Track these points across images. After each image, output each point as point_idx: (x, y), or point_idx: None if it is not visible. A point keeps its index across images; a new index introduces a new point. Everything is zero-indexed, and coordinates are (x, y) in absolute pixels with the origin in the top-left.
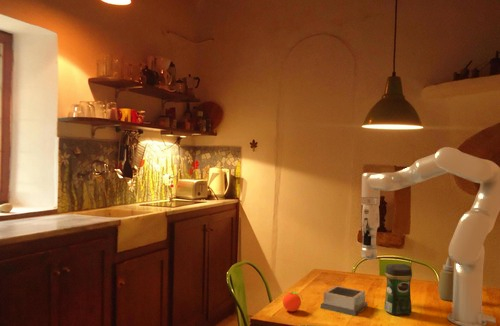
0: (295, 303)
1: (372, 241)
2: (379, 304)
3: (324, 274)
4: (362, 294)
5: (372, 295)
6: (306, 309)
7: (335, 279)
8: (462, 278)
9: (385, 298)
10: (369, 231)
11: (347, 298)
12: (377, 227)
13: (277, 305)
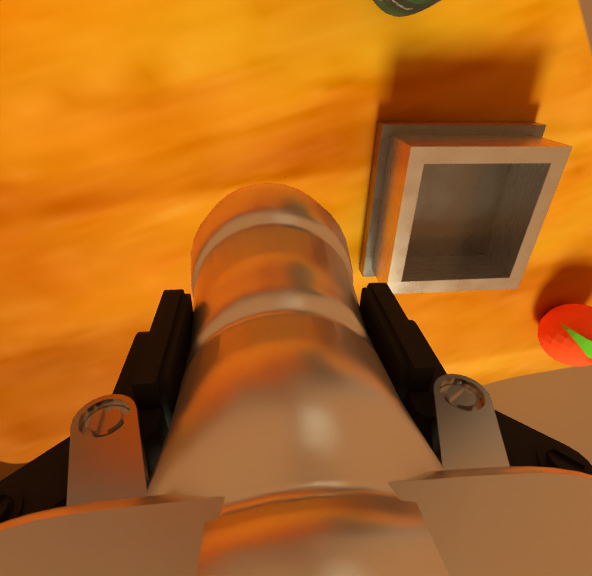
0: None
1: (346, 303)
2: (312, 74)
3: (50, 423)
4: (448, 145)
5: (184, 156)
6: (521, 291)
7: (79, 370)
8: None
9: (434, 3)
10: (504, 457)
11: (554, 181)
12: (190, 503)
13: (514, 363)
